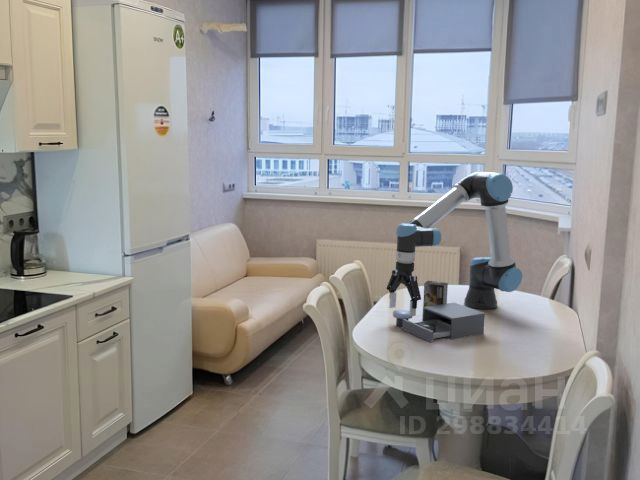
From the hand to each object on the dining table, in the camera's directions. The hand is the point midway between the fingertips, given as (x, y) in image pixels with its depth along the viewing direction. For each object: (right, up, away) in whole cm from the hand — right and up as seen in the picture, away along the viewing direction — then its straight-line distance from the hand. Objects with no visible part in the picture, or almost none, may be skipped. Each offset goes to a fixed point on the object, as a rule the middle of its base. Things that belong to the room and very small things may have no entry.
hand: (402, 311), depth 254 cm
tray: (+11, -7, -9) cm, 16 cm away
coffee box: (+16, -5, +12) cm, 20 cm away
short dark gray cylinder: (0, -6, +1) cm, 6 cm away
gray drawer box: (+20, -7, -4) cm, 22 cm away
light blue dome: (0, -2, 0) cm, 2 cm away
